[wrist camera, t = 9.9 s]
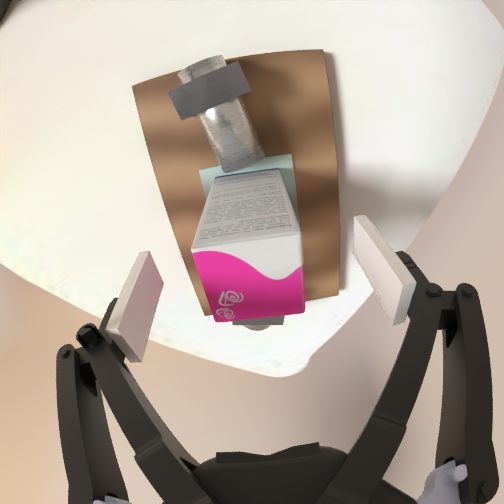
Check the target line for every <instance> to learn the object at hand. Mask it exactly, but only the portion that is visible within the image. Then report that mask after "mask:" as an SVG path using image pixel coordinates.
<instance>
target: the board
mask: <svg viewBox="0 0 504 504" xmlns="http://www.w3.org/2000/svg"><path fill="white" fill-rule="evenodd" d="M236 61H238V62H239V64H240V66H241V69H242V71H243V73H244V75H245V77H246V80H247V82H248V84H249V86H250V89H251V92H248V93H246V94H243V95H241V97H242V100H243V102H244V104H245V106H246V109H247V111H248V113H249V116H250V118H251V120H252V123H253V125H254V127H255V130H256V132H257V135H258V137H259V139H260V142H261V144H262V147H263V149H264V152H265V154H266V155H265V157H264V158H263V159H262V160H260V161H259V162H257V163H255V164H253V165H251V166H249V167H247V168H244V169H242V170H239V171H235V172H231V173H224V172H223V171H222V169H221V166H220V164H219V162H218V160H217V158H216V156H215V154H214V152H213V149H212V147H211V145H210V143H209V141H208V139H207V137H206V134H205V132H204V130H203V128H202V126H201V124H200V122H199V120H198V118H197V115H193V116H191V117H189V118H187V119H185V120H183V121H181V119H180V117H179V115H178V113H177V111H176V109H175V107H174V105H173V103H172V101H171V99H170V97H169V95H168V92H169V91H171V90H173V89H175V88H177V87H179V86H181V85H182V84H181V82H180V80H179V78H178V73H179V72H181V71H182V70H179V71H176V72H172V73H169V74H166V75H163V76H159V77H156V78H153V79H150V80H147V81H144V82H142V83H139V84H136V85H133V86H132V88H133V93H134V97H135V101H136V106H137V110H138V114H139V118H140V122H141V126H142V130H143V133H144V137H145V141H146V145H147V148H148V152H149V155H150V159H151V162H152V166H153V169H154V173H155V176H156V179H157V183H158V186H159V189H160V192H161V196H162V199H163V202H164V205H165V208H166V211H167V214H168V217H169V220H170V223H171V226H172V229H173V232H174V235H175V238H176V241H177V244H178V246H179V249H180V252H181V255H182V257H183V260H184V263H185V266H186V268H187V271H188V274H189V276H190V279H191V282H192V284H193V287H194V289H195V292H196V295H197V297H198V300H199V302H200V305H201V307H202V310H203V312H204V315H205V316H208V315H213V314H212V311H211V308H210V305H209V303H208V300H207V297H206V294H205V291H204V288H203V285H202V282H201V279H200V276H199V273H198V270H197V267H196V264H195V261H194V258H193V254H192V252H191V247H192V244H193V241H194V238H195V235H196V232H197V228H198V225H199V222H200V219H201V216H202V213H203V210H204V207H205V204H206V200H207V198H208V195H209V192H210V189H211V186H212V183H213V180H214V178H215V177H218V176H224V175H230V174H237V173H244V172H251V171H258V170H265V169H272V168H279V169H280V173H281V176H282V179H283V182H284V185H285V187H286V190H287V193H288V196H289V198H290V201H291V204H292V207H293V210H294V213H295V216H296V219H297V222H298V225H299V228H300V231H301V234H302V244H303V262H304V279H305V301H310V300H315V299H321V298H326V297H331V296H337V295H339V260H340V228H339V192H338V173H337V158H336V146H335V135H334V125H333V115H332V107H331V99H330V92H329V85H328V78H327V71H326V65H325V59H324V54H323V49H319V50H296V51H283V52H273V53H264V54H257V55H250V56H243V57H237V58H232V59H226V60H225V62H226V64H227V65H229V64H231V63H234V62H236ZM183 70H184V69H183Z"/></svg>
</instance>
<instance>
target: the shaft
mask: <svg viewBox="0 0 504 504" xmlns="http://www.w3.org/2000/svg"><path fill="white" fill-rule="evenodd" d="M284 316H285V315H282V316H273V317H264V318H255V319H246V320H238V321H233V325H244V326H245V327H246V328H248V329H250V330H256V331H259V330H264V329H266V328H268V327H269V326H270V325H283V322H284Z"/></svg>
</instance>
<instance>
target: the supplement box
mask: <svg viewBox="0 0 504 504" xmlns="http://www.w3.org/2000/svg"><path fill="white" fill-rule="evenodd" d="M191 252H192V254H193V258H194V261H195V264H196V267H197V270H198V273H199V276H200V279H201V282H202V285H203V288H204V291H205V294H206V297H207V300H208V303H209V305H210V308H211V311H212V314H213V317H214V320H215V322H228V321H238V320H246V319H255V318H264V317H273V316H282V315H291V314H300V313H304V311H305V279H304V262H303V244H302V234H301V231H300V228H299V225H298V222H297V219H296V216H295V213H294V210H293V207H292V204H291V201H290V198H289V196H288V193H287V190H286V187H285V185H284V182H283V179H282V176H281V173H280V169H279V168H272V169H265V170H258V171H251V172H244V173H237V174H230V175H224V176H218V177H215V178H214V180H213V183H212V186H211V189H210V192H209V195H208V198H207V200H206V204H205V207H204V210H203V213H202V216H201V219H200V222H199V225H198V228H197V232H196V235H195V238H194V241H193V244H192V247H191Z"/></svg>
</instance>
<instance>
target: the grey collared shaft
mask: <svg viewBox="0 0 504 504" xmlns="http://www.w3.org/2000/svg"><path fill="white" fill-rule="evenodd" d="M178 78H179V80H180V82H181V84H182V85H181V86H179V87H177V88H175V89H173V90H171V91H169V92H168V95H169V97H170V99H171V101H172V103H173V105H174V107H175V109H176V111H177V113H178V115H179V117H180V119H181V121H183V120H185V119H187V118H189V117H191V116H193V115H197V118H198V120H199V122H200V124H201V126H202V128H203V130H204V132H205V134H206V137H207V139H208V141H209V143H210V145H211V147H212V149H213V152H214V154H215V156H216V158H217V160H218V162H219V164H220V166H221V169H222V171H223V172H224V173H231V172H235V171H239V170H242V169H244V168H247V167H249V166H251V165H253V164H255V163H257V162H259V161H260V160H262V159H263V158H264V157H265V155H266V154H265V152H264V149H263V147H262V144H261V142H260V139H259V137H258V135H257V132H256V130H255V127H254V125H253V123H252V120H251V118H250V116H249V113H248V111H247V109H246V106H245V104H244V102H243V100H242V97H241V95H243V94H246V93H248V92H251V89H250V86H249V84H248V82H247V80H246V77H245V75H244V73H243V71H242V69H241V66H240V64H239V62H238V61H236V62H234V63H231V64H229V65H227V64H226V62H225V60H224V58H223V56H222V55H219V56H214V57H210V58H207V59H204V60H202V61H199V62H197V63H195V64H193V65H191V66H189V67H187V68H185V69H184V70H182V71H181V72H179V73H178Z"/></svg>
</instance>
